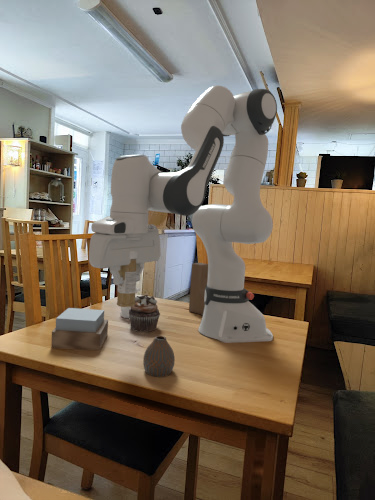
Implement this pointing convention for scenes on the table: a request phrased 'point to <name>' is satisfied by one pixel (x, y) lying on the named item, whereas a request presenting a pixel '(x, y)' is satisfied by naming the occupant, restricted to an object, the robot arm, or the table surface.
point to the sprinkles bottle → (128, 283)
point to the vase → (159, 358)
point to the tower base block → (80, 338)
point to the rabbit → (127, 308)
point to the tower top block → (80, 320)
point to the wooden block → (198, 287)
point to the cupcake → (144, 314)
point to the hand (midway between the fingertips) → (126, 282)
